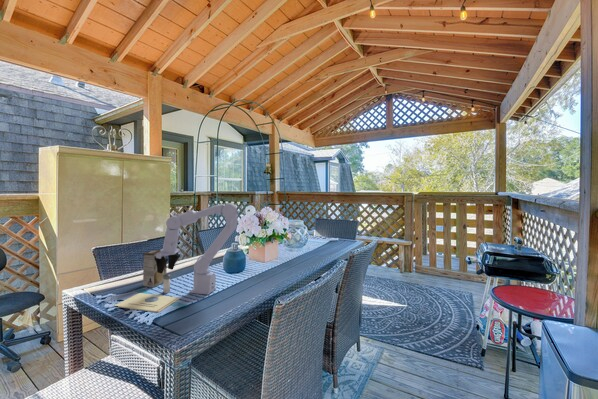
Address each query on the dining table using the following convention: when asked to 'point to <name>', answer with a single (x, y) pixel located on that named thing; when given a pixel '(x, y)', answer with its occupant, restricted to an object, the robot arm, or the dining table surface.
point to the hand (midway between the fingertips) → (165, 270)
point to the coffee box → (152, 270)
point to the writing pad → (147, 302)
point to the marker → (166, 283)
